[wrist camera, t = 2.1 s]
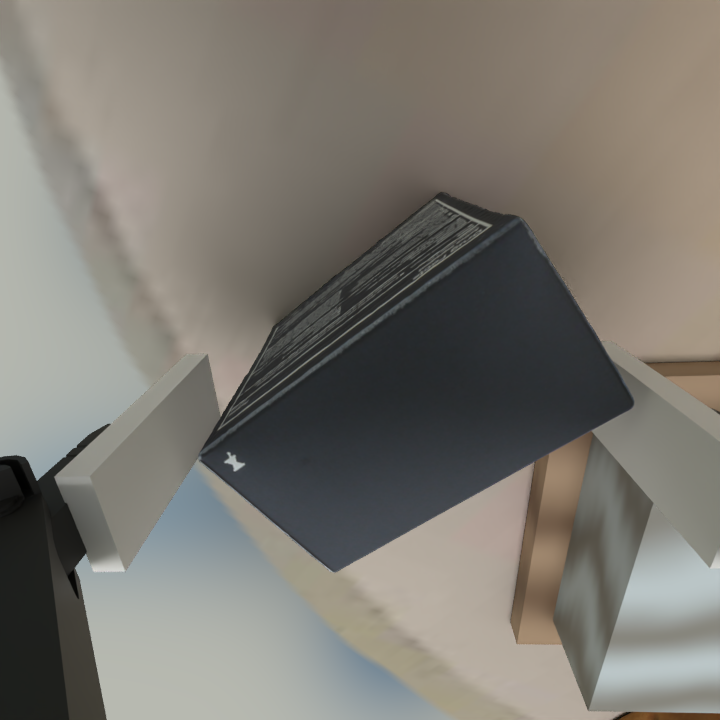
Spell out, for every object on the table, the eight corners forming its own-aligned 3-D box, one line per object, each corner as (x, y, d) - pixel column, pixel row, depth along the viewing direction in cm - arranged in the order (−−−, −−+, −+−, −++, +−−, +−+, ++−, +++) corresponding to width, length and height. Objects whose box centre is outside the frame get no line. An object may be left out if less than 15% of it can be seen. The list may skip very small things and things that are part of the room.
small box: (350, 415, 23) (332, 588, 13) (268, 327, 21) (179, 457, 12) (521, 299, 20) (653, 418, 10) (443, 185, 18) (518, 201, 9)
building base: (550, 365, 21) (616, 440, 15) (884, 357, 20) (1091, 432, 14) (510, 622, 29) (544, 735, 24) (747, 623, 29) (844, 741, 23)
